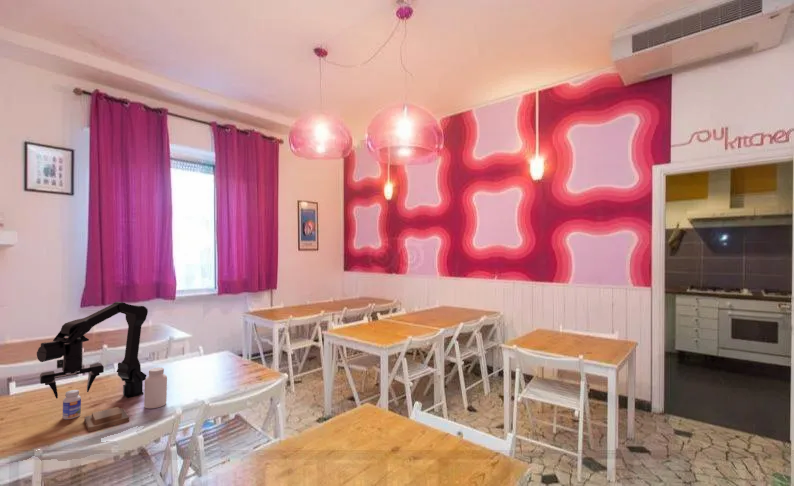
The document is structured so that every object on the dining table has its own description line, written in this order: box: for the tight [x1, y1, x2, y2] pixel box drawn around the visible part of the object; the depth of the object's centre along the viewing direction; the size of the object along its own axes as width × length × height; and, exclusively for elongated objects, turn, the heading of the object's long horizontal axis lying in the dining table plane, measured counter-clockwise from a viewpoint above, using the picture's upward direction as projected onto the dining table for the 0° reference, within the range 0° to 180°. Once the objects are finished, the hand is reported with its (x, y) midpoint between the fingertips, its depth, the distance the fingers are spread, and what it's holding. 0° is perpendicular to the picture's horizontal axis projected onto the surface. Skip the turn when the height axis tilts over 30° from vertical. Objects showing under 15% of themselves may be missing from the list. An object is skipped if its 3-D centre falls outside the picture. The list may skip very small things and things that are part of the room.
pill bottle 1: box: [62, 389, 82, 420], centre depth 149 cm, size 5×5×10 cm
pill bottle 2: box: [143, 367, 168, 409], centre depth 161 cm, size 8×8×15 cm
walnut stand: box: [84, 406, 130, 432], centre depth 146 cm, size 12×12×3 cm
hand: (72, 394), depth 150 cm, fingers open, 9 cm apart
